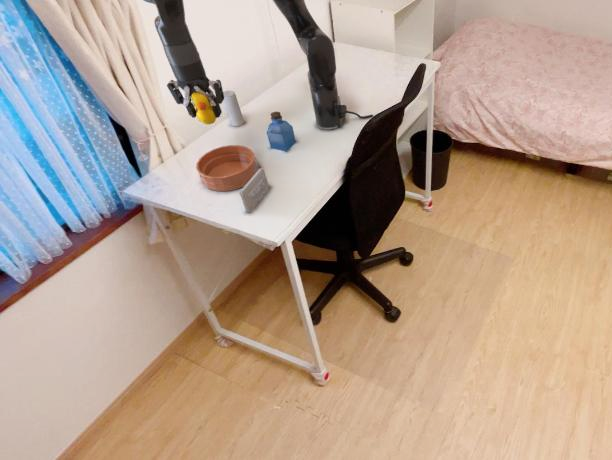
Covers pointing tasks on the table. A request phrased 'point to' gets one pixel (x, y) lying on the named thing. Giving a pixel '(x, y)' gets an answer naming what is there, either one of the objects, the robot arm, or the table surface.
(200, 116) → the duckling
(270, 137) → the perfume bottle
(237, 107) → the beverage can
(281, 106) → the table surface
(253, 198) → the cassette
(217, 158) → the bowl
